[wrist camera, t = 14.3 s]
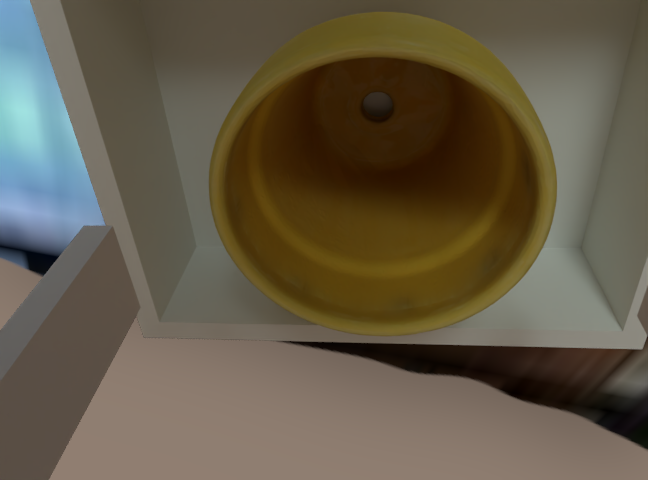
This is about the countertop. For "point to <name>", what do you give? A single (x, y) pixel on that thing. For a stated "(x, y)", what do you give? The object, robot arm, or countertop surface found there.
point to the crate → (329, 3)
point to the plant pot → (383, 177)
